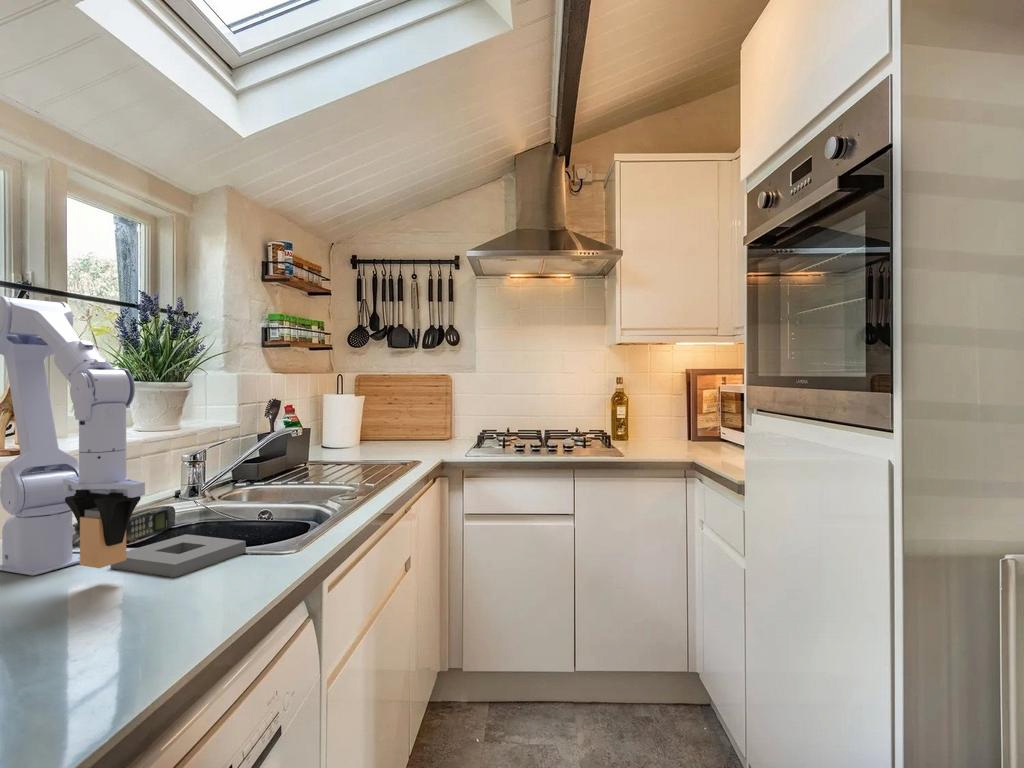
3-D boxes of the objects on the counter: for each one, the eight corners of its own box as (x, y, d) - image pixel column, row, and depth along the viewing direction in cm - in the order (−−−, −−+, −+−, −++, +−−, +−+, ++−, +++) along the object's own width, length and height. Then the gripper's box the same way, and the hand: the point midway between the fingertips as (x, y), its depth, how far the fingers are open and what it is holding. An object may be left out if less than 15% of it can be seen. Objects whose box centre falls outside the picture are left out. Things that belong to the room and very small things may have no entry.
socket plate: (110, 568, 93) (110, 555, 93) (186, 545, 107) (185, 534, 107) (175, 577, 89) (175, 564, 89) (245, 552, 102) (245, 540, 102)
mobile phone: (122, 520, 107) (182, 501, 122) (108, 519, 107) (169, 501, 122) (123, 547, 107) (183, 525, 122) (109, 546, 108) (170, 524, 122)
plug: (80, 565, 84) (79, 510, 84) (107, 557, 88) (107, 504, 88) (99, 568, 83) (99, 512, 83) (126, 560, 87) (126, 506, 87)
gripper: (40, 451, 84) (40, 545, 84) (110, 455, 79) (111, 555, 79) (90, 446, 91) (90, 533, 91) (158, 450, 86) (158, 541, 86)
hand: (103, 542), depth 85 cm, fingers closed on plug, 4 cm apart
